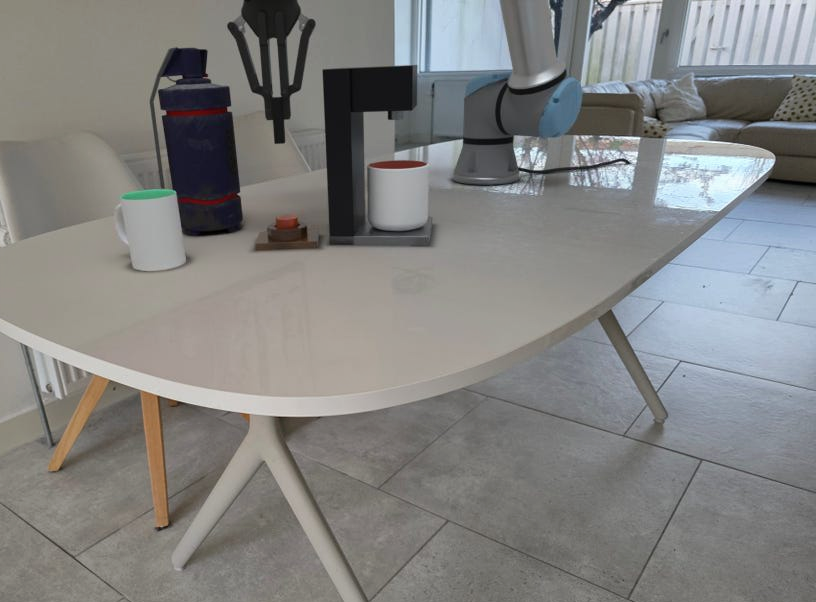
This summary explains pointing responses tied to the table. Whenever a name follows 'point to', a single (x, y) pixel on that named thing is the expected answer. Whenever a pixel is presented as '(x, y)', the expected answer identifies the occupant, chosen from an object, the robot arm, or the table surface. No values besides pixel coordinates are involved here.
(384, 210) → the cup
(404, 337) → the table surface
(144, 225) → the mug
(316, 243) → the brew pad
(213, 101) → the grenade
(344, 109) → the coffee maker
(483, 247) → the table surface
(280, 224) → the brew button
